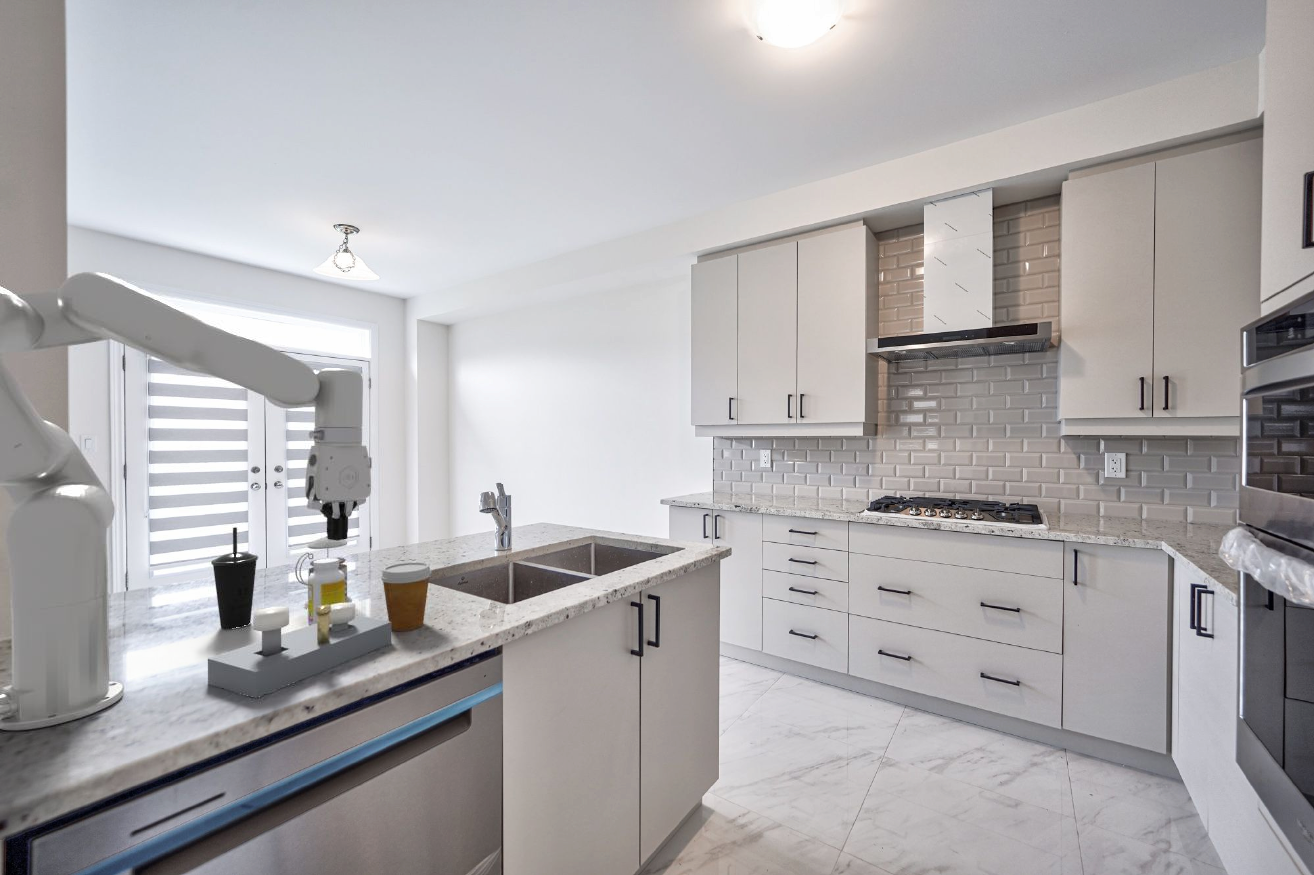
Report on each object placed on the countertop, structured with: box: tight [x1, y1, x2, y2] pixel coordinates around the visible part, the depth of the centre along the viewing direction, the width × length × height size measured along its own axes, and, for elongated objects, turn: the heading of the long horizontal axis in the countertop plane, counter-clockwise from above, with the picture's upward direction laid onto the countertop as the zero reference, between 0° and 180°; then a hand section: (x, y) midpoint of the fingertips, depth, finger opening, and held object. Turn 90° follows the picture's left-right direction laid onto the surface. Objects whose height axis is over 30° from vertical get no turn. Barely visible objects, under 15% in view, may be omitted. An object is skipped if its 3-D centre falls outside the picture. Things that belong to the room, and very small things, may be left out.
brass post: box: [316, 605, 331, 644], centre depth 95 cm, size 2×2×6 cm
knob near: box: [252, 606, 290, 656], centre depth 91 cm, size 5×5×7 cm
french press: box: [294, 535, 353, 609], centre depth 129 cm, size 10×12×25 cm
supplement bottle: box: [307, 557, 345, 626], centre depth 117 cm, size 7×7×13 cm
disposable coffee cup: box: [379, 561, 432, 632], centre depth 114 cm, size 10×10×12 cm
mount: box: [207, 614, 392, 699], centre depth 96 cm, size 24×12×4 cm, turn 156°
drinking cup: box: [211, 526, 259, 630], centre depth 114 cm, size 8×8×20 cm
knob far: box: [330, 602, 356, 632], centre depth 102 cm, size 5×5×7 cm
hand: (337, 539), depth 102 cm, fingers closed
